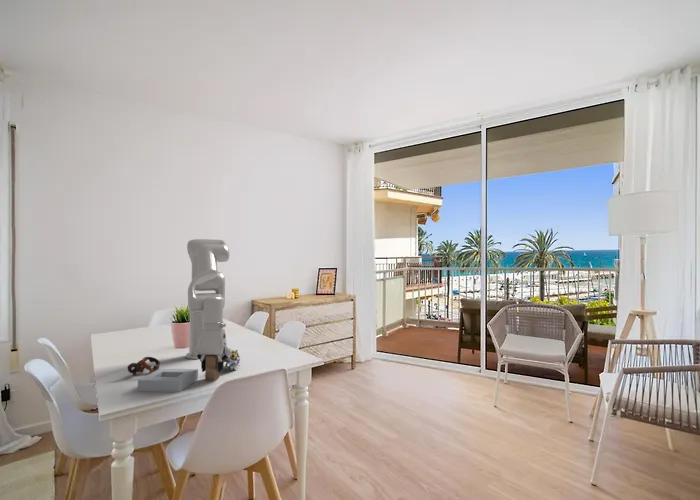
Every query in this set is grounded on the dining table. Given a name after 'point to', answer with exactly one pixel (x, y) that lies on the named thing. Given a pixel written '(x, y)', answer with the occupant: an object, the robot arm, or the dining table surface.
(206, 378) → the wood grain block
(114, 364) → the dining table surface
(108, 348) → the dining table surface
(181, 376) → the well block
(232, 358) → the passion flower
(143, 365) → the dark brown looped piece
